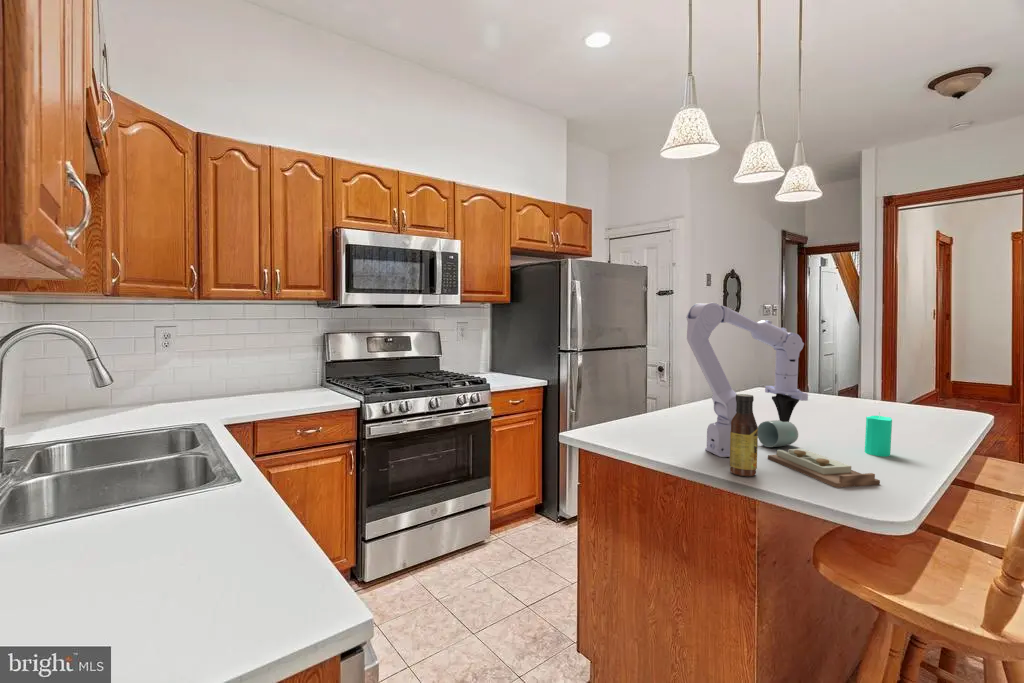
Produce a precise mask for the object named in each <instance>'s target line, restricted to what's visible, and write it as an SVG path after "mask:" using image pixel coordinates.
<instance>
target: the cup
mask: <svg viewBox="0 0 1024 683" xmlns="http://www.w3.org/2000/svg"><path fill="white" fill-rule="evenodd" d="M757 426H758V441H759V443H760V444H761V445H763V447H766V448H780V447H785V446H791V445H792V444H794V443H795V442H796V441H797V440H798V439H799V430H798V428H797V426H796V425H795V424H794V423H793V422H791V421H789V422H782V421H780V419H778V420H777V419H776V420H764V421H762V422H761V423H760V424H759V425H757Z"/></svg>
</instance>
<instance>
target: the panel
mask: <svg viewBox="0 0 1024 683" xmlns="http://www.w3.org/2000/svg"><path fill="white" fill-rule="evenodd" d="M794 450H801V451H805V452H806V455H803V457H800V458H799V457H797V454H794ZM776 455H777V456H779V457H781V458H784V459H786V460H789V461H791V462H794V463H796V464H799V465H801V466H804V467H806V468H809V469H811V470H814V471H816V472H819V473H821V474H837V473H851V470H852V465H849V464H847V463H844V462H841V461H838V460H835V459H832V458H829V457H827V456H824V455H822V454H819V453H816V452H813V451H810V450H807V449H804V448H789V449H788V451H786V450H783V449H777V450H776ZM818 458H822V459H827V460H829V464H826V466H820V465H819V463H817V462H816V459H818Z"/></svg>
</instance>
